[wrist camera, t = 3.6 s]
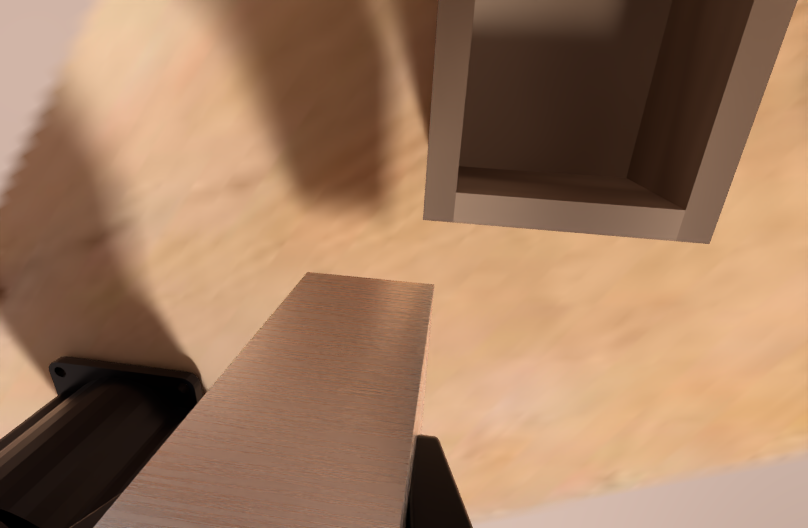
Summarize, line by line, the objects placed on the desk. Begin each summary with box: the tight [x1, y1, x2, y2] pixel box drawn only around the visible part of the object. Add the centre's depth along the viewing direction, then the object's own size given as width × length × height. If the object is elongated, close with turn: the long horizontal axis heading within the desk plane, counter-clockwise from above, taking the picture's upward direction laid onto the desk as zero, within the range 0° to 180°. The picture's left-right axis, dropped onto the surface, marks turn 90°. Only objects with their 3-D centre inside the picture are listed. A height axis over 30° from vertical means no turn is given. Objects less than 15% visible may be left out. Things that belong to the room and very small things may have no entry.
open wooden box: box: [423, 0, 797, 244], centre depth 9 cm, size 5×7×5 cm
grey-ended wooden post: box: [93, 272, 434, 528], centre depth 7 cm, size 6×3×8 cm, turn 178°
